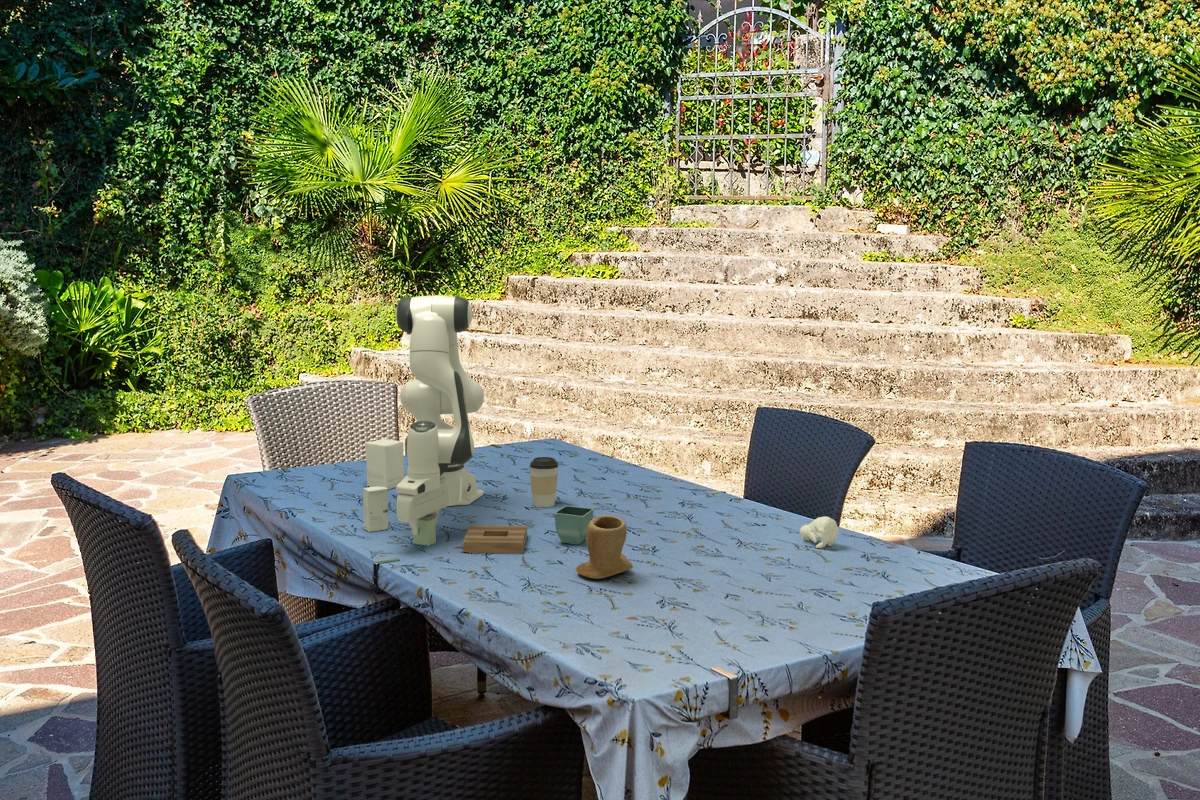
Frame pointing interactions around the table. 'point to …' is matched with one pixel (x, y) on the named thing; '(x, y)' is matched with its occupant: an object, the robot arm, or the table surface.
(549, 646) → the table surface
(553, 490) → the coffee cup
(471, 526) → the walnut slot block
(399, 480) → the supplement box
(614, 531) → the stone cup
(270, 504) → the table surface
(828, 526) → the cream animal figurine
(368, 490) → the skincare box
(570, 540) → the flower pot
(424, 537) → the keyed peg
